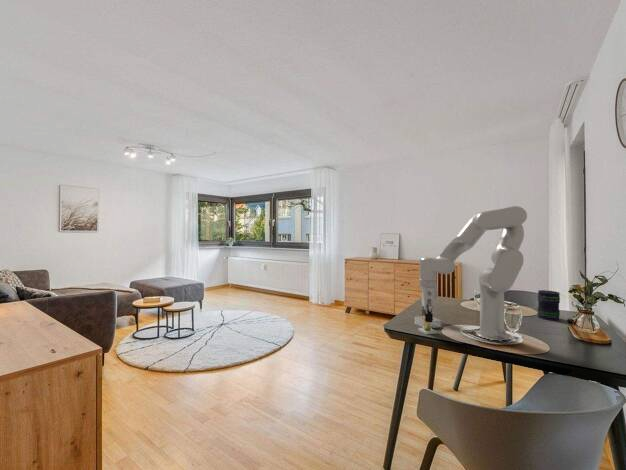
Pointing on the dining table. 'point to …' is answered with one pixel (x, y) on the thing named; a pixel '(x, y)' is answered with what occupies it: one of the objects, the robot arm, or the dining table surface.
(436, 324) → the chuck block
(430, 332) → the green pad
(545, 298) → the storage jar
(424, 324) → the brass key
